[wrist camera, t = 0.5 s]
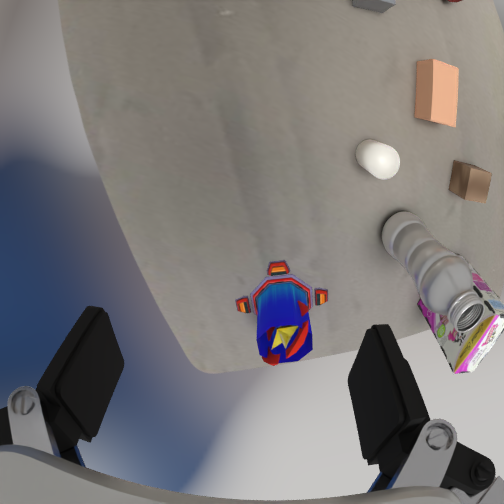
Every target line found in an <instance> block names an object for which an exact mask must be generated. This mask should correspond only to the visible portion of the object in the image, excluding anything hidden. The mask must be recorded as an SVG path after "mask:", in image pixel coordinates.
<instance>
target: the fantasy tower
mask: <svg viewBox="0 0 504 504" xmlns="http://www.w3.org/2000/svg"><path fill="white" fill-rule="evenodd" d="M289 272H290V268H289V266H288V264H287V263H286V261H285V260H281V261H273V262H269V266H268V269H267V274H268V275H270V276H271V277H265V279H264V280H263V281H262V282H261V283H260V284H259V285H258V286H257V287H256V288H255V289H254V290H253V292H252V293H251V294H250V296H251V301H252V306H253V311H254V314H256V315H258V317H257V344H258V349H259V354H260V355H261V356H262V359H263V361H264V362H266V363H268V364H270V365H273V366H275V365H277V364H279V363H285V362H294V361H299V360H300V359H301V358H302V357H304V356H305V355H306V354H308V353H309V352H310V351H311V350H313V348H312V331H311V325H310V319H309V313H308V311H309V310H310V309H311V308H312V307H313V301H312V287H311V286H309V285H308V284H306V283H305V282H303V281H302V280H300V279H299V278H298V277H296V276H295V275H293V274H288V275H282V274H287V273H289ZM273 275H280V276H273ZM235 301H236V306H237V310H238V311H240V312H244V313H250V312H251V309H250V304H249V299H248V296H243V297H241V298H239V299H236V300H235ZM327 301H328V289H322V288H315V305H321V304H323V303H325V302H327Z"/></svg>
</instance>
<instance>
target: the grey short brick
mask: <svg viewBox="0 0 504 504" xmlns="http://www.w3.org/2000/svg"><path fill="white" fill-rule="evenodd" d="M352 3H353V6H354V7H359V8H363V9H368V10H372V11H376V12H380V13H383V12H385V11H386V10H388V9H389V8H391V7H392V6H394V5H396V4H395V0H352Z"/></svg>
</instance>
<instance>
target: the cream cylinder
mask: <svg viewBox="0 0 504 504" xmlns="http://www.w3.org/2000/svg"><path fill="white" fill-rule="evenodd" d="M356 160H357V162H358V163H359V165H360V166H361V167H363V168H364V169H366V170H367V171H368V172H370V173H371V174H373V175H374V176H375V177H377V178H379V179H389V178H391V177H393V176H394V175H395V174H396V173H397V171H398V169H399V166H400V159H399V155H398V153H397V152H396V150H395V149H394V148H392V147H390V146H388V145H385V144H383V143H380V142H378V141H375V140H372V139H367V140H364V141H362V142H361V143H360V144H359V145H358V147H357V149H356Z"/></svg>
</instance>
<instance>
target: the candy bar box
mask: <svg viewBox="0 0 504 504" xmlns="http://www.w3.org/2000/svg"><path fill="white" fill-rule="evenodd" d="M456 255H457V254H456ZM458 256H459V257H461V258H462V259H463V260H465V259H464V258H463V257H462V256H461V255H458ZM465 261H466V260H465ZM466 262H467V261H466ZM467 263H468V262H467ZM468 265H469V267H470V270H471V272H472V276H473V290H474V291H475V292H476V293H477V294H478V296H479V299H480V300H481V301H482V302H483V304H484V307H485V310H484V314H483V316H482V318H481V320H480V321H479V322H478V324H477V325H476V326H475V327H473V328H472V329H471V330H469V331H467V332H464V333H459V332H457V331H456V330H455V328H454V326H453V325H452V324H451V323H450V322H449V320H448V318H447V315H441V314H437V313H434V312H432V311H431V310H429V309H428V308H427V307H426V306H425V305H424V303H423V301H422V300H421V299H420V301H419V303H418V306H419V308H420V310H421V312H422V314H423V315H424V317H425V319H426V321H427V323H428V324H429V326H430V328H431V330H432V332H433V334H434V335H435V337H436V339H437V341H438V343H439V345H440V347H441V349H442V351H443V353H444V355H445V357H446V359H447V361H448V363H449V365H450V367H451V369H452V371H453V373H455V374H456V373H465V372H473V371H474V370H475V368H476V367H477V366H478V365H479V363H480V362H481V361H482V359H483V358H484V357H485V356H486V354H487V353H488V351H489V350H490V349H491V347H492V346H493V345H494V343H495V342H496V340H497V339H498V337H499V336H500V335H501V333H502V332H503V330H504V304H503V302H502V301H501V300H500V299H499V297H498V296H497V295H496V294H495V292H494V291H493V290H492V289H491V288H490V286H489V285H488V284H487V283H486V282H485V281H484V280H483V278H482V277H481V276H480V275H479V274H478V273H477V272H476V271H475V269H474V268H473V267H472V266H471V265H470V264H469V263H468Z"/></svg>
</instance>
